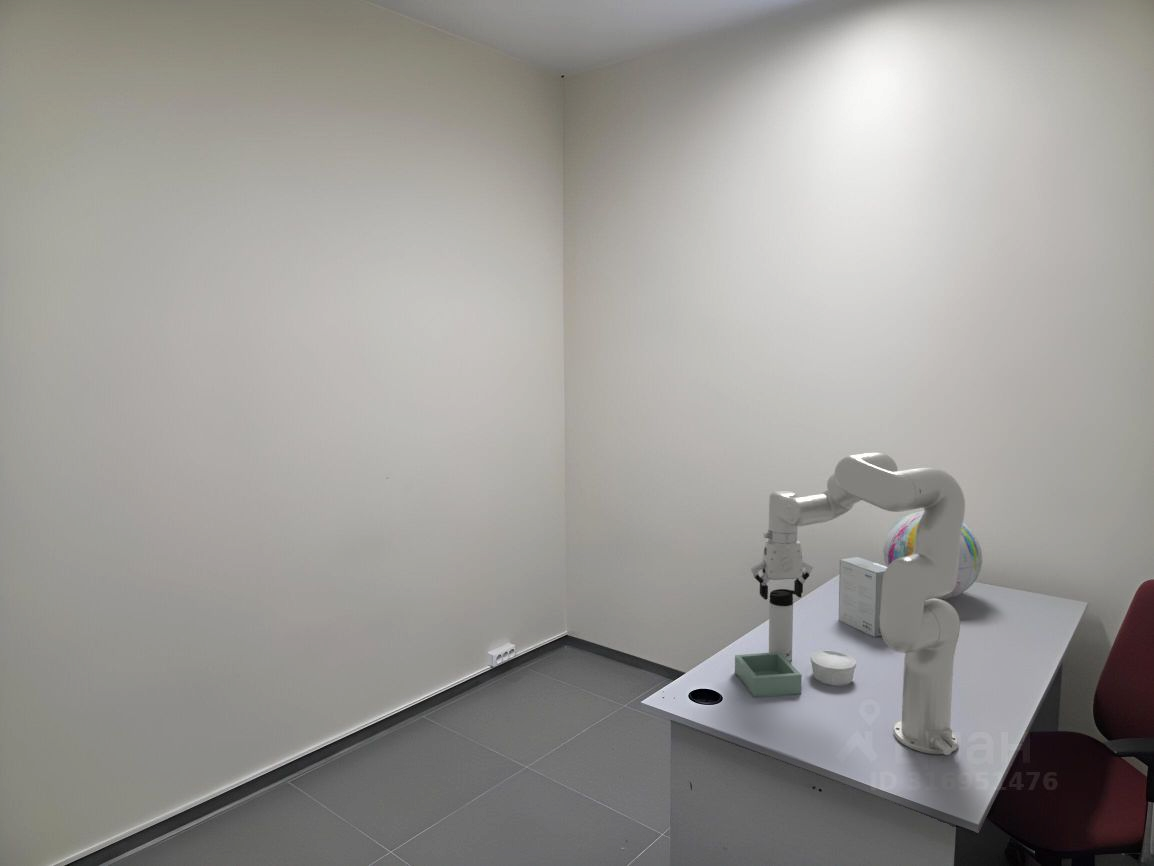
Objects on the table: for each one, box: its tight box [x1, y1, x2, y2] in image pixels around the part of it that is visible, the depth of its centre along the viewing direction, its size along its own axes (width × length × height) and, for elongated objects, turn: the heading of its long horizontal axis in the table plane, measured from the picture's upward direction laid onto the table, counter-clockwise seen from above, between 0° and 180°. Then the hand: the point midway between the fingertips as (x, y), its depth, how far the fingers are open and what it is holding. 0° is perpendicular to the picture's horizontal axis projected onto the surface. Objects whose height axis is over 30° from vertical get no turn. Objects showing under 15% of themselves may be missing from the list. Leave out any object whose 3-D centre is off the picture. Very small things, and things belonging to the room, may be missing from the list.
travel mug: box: [768, 588, 796, 664], centre depth 191 cm, size 6×7×20 cm
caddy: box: [734, 652, 802, 699], centre depth 179 cm, size 13×12×5 cm
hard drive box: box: [838, 556, 887, 638], centre depth 212 cm, size 16×8×20 cm, turn 22°
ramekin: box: [810, 650, 857, 687], centre depth 181 cm, size 11×11×5 cm
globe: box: [882, 510, 983, 600], centre depth 236 cm, size 30×30×30 cm
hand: (781, 596), depth 190 cm, fingers open, 9 cm apart
